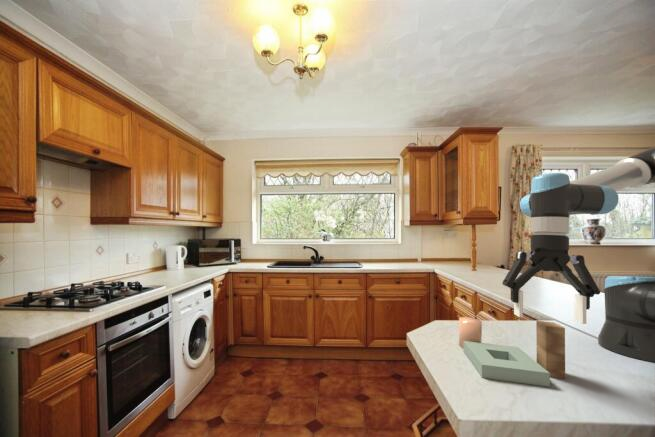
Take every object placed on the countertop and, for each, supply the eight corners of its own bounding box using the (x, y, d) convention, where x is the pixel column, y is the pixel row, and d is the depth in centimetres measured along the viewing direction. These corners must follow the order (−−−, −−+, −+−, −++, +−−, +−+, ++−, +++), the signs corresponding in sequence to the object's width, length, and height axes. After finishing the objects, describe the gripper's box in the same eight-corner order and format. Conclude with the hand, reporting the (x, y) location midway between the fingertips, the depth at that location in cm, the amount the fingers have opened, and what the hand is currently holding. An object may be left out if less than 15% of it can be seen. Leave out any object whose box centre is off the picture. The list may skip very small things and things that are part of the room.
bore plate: (517, 358, 73) (517, 346, 73) (549, 386, 59) (549, 373, 59) (463, 351, 75) (463, 341, 76) (481, 377, 62) (481, 364, 62)
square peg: (554, 370, 67) (554, 322, 67) (565, 378, 63) (564, 327, 63) (536, 368, 67) (536, 320, 68) (546, 376, 63) (545, 326, 64)
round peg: (477, 344, 81) (477, 318, 82) (484, 352, 75) (485, 324, 76) (456, 342, 82) (456, 316, 83) (462, 350, 76) (462, 322, 77)
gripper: (595, 237, 68) (595, 319, 67) (489, 232, 73) (488, 309, 72) (621, 237, 61) (621, 330, 60) (501, 231, 66) (500, 317, 65)
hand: (548, 319), depth 66 cm, fingers open, 13 cm apart
